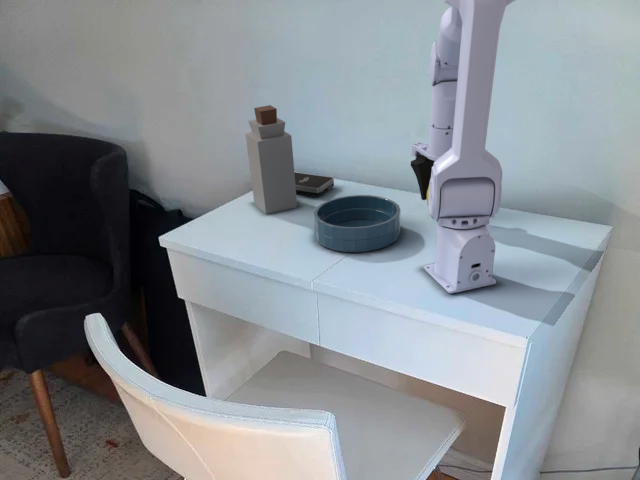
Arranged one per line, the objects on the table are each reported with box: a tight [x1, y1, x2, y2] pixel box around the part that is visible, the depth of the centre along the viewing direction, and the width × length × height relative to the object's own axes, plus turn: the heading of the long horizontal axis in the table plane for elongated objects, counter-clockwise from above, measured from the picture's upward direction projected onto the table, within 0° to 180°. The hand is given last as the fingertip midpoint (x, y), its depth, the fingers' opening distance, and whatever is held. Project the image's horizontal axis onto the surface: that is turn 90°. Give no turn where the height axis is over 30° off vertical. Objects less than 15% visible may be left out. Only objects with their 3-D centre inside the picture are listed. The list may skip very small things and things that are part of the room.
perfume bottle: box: [245, 104, 298, 215], centre depth 118 cm, size 7×7×18 cm
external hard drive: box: [294, 171, 335, 197], centre depth 129 cm, size 7×11×2 cm, turn 59°
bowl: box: [313, 194, 402, 253], centre depth 109 cm, size 15×15×4 cm
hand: (441, 203), depth 113 cm, fingers open, 7 cm apart
